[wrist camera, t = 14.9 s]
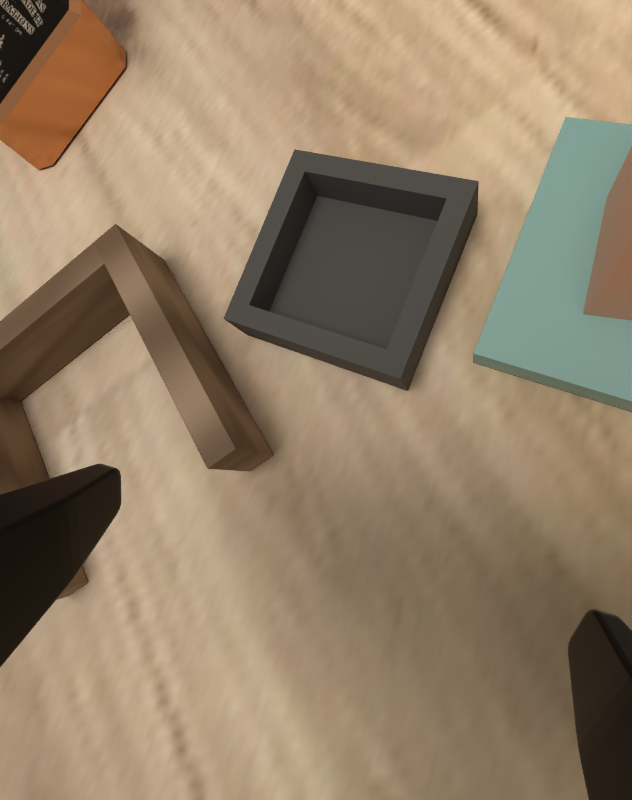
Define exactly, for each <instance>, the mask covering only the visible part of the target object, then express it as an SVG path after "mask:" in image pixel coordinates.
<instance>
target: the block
mask: <svg viewBox="0 0 632 800" xmlns="http://www.w3.org/2000/svg"><path fill="white" fill-rule="evenodd" d="M583 314H585V315H593V316H601V317H608V318H616V319H624V320H632V147H631V149H630V151H629V153H628V155H627V157H626V159H625V161H624V163H623V165H622V167H621V169H620V171H619V173H618V175H617V177H616V180H615V182H614V184H613V186H612V188H611V190H610V192H609V194H608V196H607V199H606V204H605V209H604V213H603V218H602V223H601V228H600V233H599V238H598V243H597V248H596V252H595V257H594V262H593V267H592V272H591V277H590V282H589V287H588V291H587V296H586V301H585V306H584V311H583Z"/></svg>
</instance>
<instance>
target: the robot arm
mask: <svg viewBox="0 0 632 800" xmlns="http://www.w3.org/2000/svg"><path fill="white" fill-rule="evenodd" d="M120 506H121V474H120V471H119V470H118V469H117V468H114V467H111V466H107V465H104V464H96V465H93V466H89V467H86V468H83V469H80V470H77V471H73V472H70V473H67V474H64V475H61V476H57V477H54V478H51V479H48V480H45V481H41V482H38V483H35V484H32V485H29V486H25V487H22V488H19V489H16V490H13V491H9V492H6V493H3V494H0V667H1V666H2V665H3V663H4V662H5V661H6V660H7V659H8V657H9V656H10V655H11V654H12V653H13V651H14V650H15V649H16V648H17V646H18V645H19V644H20V643H21V642H22V640H23V639H24V638H25V637H26V636H27V634H28V633H29V632H30V631H31V629H32V628H33V627H34V626H35V625H36V623H37V622H38V621H39V620H40V619H41V617H42V616H43V615H44V614H45V613H46V611H47V610H48V609H49V608H50V606H51V605H52V604H53V603H54V602H55V600H56V599H57V598H58V597H59V596H60V594H61V593H62V592H63V591H64V589H65V588H66V587H67V586H68V584H69V583H70V582H71V581H72V579H73V578H74V577H75V575H76V574H77V573H78V571H79V570H80V568H81V567H82V565H83V564H84V562H85V561H86V559H87V558H88V556H89V555H90V553H91V552H92V550H93V549H94V548H95V546H96V545H97V543H98V542H99V540H100V539H101V537H102V536H103V534H104V533H105V531H106V530H107V528H108V527H109V525H110V524H111V522H112V521H113V519H114V518H115V516H116V515H117V513H118V511H119V509H120ZM568 656H569V666H570V676H571V685H572V695H573V705H574V715H575V725H576V733H577V741H578V748H579V753H580V759H581V764H582V769H583V774H584V779H585V783H586V788H587V793H588V798H589V800H632V630H631V629H630V628H629V627H628V626H627V625H626V624H625V623H624V622H623V621H622V620H621V619H620V618H619V617H617V616H616V615H613V614H610V613H607V612H603V611H600V610H596V609H591V610H589V611H588V612H587V613H586V614H585V616H584V617H583V619H582V621H581V622H580V624H579V626H578V627H577V629H576V630H575V632H574V634H573V635H572V637H571V639H570V642H569V646H568Z"/></svg>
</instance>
